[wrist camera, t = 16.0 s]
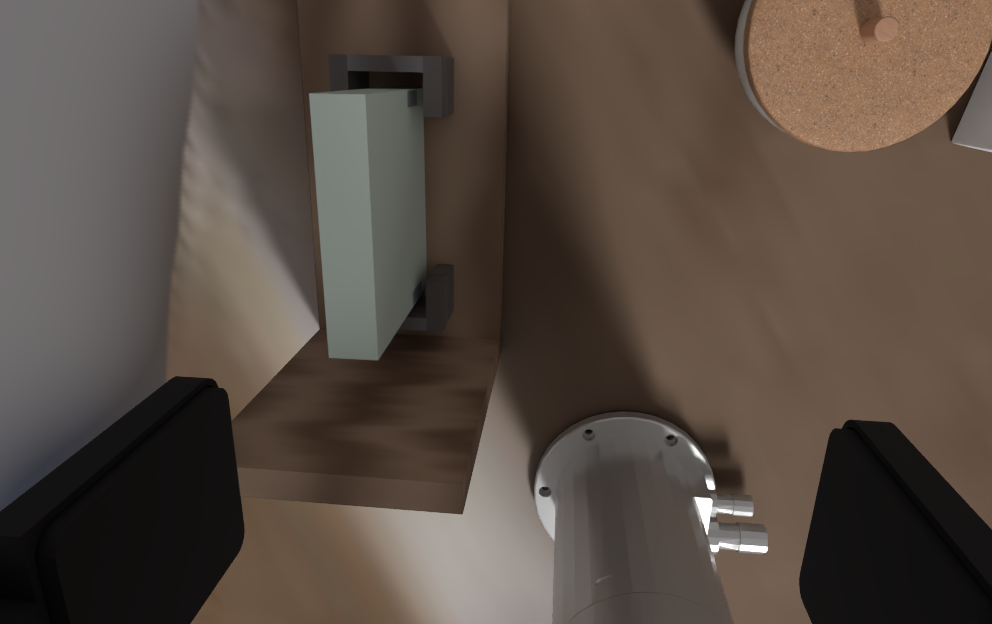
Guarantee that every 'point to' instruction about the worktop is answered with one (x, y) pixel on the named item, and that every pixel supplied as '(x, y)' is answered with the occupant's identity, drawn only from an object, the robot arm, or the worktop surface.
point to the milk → (978, 114)
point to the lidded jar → (859, 65)
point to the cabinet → (449, 287)
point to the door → (369, 213)
